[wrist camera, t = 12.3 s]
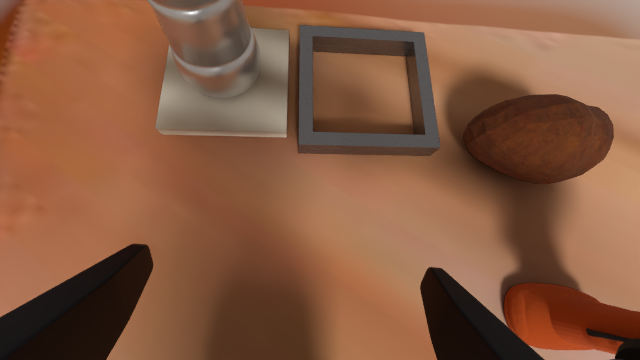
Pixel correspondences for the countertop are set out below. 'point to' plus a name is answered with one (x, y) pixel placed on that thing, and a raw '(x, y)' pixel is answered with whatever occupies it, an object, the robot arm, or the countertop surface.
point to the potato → (540, 137)
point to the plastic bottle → (211, 44)
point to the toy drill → (571, 321)
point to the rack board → (232, 113)
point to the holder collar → (373, 44)
